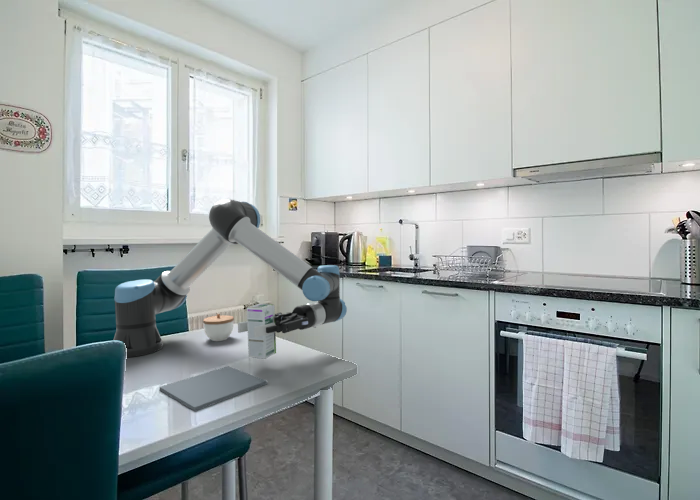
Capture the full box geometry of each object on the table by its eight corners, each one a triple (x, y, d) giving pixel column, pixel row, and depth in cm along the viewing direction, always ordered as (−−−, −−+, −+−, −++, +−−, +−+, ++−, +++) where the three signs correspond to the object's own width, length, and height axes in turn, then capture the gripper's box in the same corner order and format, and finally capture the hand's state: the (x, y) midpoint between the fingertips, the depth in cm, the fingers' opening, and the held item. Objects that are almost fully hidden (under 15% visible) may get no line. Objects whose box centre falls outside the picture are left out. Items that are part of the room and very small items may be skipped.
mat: (159, 390, 93) (159, 386, 93) (228, 368, 107) (228, 365, 107) (194, 411, 81) (194, 407, 81) (266, 383, 95) (266, 380, 95)
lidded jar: (240, 336, 142) (239, 312, 142) (219, 344, 133) (218, 317, 132) (219, 334, 147) (218, 310, 147) (197, 341, 137) (196, 315, 137)
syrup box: (265, 359, 104) (264, 307, 103) (247, 357, 106) (246, 306, 105) (276, 353, 109) (275, 304, 108) (259, 351, 111) (258, 302, 110)
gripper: (330, 332, 114) (269, 350, 97) (288, 323, 127) (227, 337, 110) (330, 308, 114) (268, 321, 97) (287, 301, 127) (226, 312, 110)
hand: (246, 330), depth 103 cm, fingers closed on syrup box, 7 cm apart
